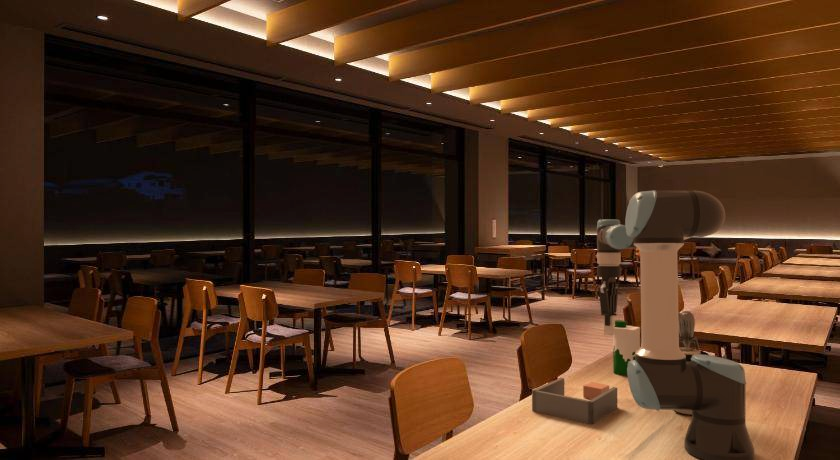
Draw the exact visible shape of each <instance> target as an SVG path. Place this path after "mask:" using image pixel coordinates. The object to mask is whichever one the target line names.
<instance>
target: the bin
mask: <svg viewBox="0 0 840 460" xmlns="http://www.w3.org/2000/svg"><path fill="white" fill-rule="evenodd" d="M531 400H532V401H531V407H532V412H535V413H541V414H545V415H549V416H553V417H558V418H562V419H567V420H571V421H576V422H581V423H586V424H589V425H593V424H594V423H597V422H598V421H599V420H601V419H602V418H604V417H605V416H607V415H608V414H610V413H611V412H613V411H615V410H616V409H617V408H618V387H616V386H612V387H611V388H609V390H607V391H606V392H604V393H602V394H600V395H598V396H597V397H595V398H593V399H589V400H588V399H584V398H583V399H582V398H577V397H572V396H567V395H565V378H564V377H560V378H557V379H555V380H553V381H550V382H548V383H546V384H544V385H542V386H539V387H537V388H534V389H533V390H532V391H531Z"/></svg>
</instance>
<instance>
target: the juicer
mask: <svg viewBox="0 0 840 460" xmlns="http://www.w3.org/2000/svg"><path fill="white" fill-rule="evenodd" d="M678 313H679V314H678V322H679V334H680V336H681V337H680V336H679V341H681V342H683V344H684V346H685V348H689V345H691V343H693V344H694V347H695V349H696V350H699V351H700V354H701V355H702V353H701V352H702V351H701V348H700V344H699V342H698V338H697V336H694V332H695V328H696V327H695V326H696V319H695V315H694V314H693V313H692V312H691V311H689V310H681V311H680V312H678Z"/></svg>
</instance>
